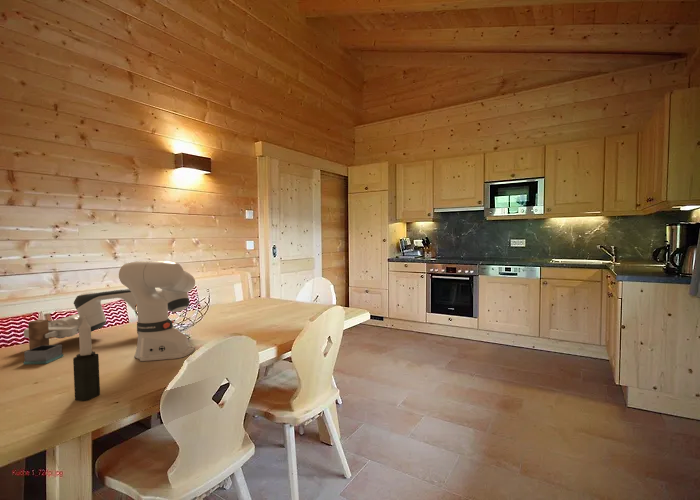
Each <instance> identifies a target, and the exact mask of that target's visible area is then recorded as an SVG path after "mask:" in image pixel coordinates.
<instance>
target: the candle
mask: <svg viewBox="0 0 700 500" xmlns="http://www.w3.org/2000/svg"><path fill="white" fill-rule="evenodd" d="M78 339H79V353H77V354H76V356H75V357H73V358H72V360H73V361H72V363H73V365H72V366H73V384H74V385H73V387H74V400H75V401H77V402H78V401H79V402H80V401H81V402H87V401H90V400H92V399H94V398H96V397H98V396H100V395H101V386H100V385H101V384H100V363H99V362H100V361H99V360H100V359H99V358H100V357H99V356H100V355H99V354H98V353H96V352H95V351H92V350H93V349H92V332H91V327H90V325H89V324H88V323H87V321H86V317H85V316H84V317H83V321H82V324H81V326H80V327H79V333H78Z"/></svg>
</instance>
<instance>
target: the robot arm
mask: <svg viewBox="0 0 700 500" xmlns="http://www.w3.org/2000/svg"><path fill="white" fill-rule="evenodd" d="M118 280H119V282H120V283H121V284H122V285H123V286H125V287H126V288H127V289H117V290H108V291H107V290H106V291H101V292H85V293H81V294H79V295H77V296H76V297H75V299H74V301H73V305H74V307H75V309H76V311H77V312H76V314H72V315H70V316H65V317H62V318H58V319H55V320H48V329H49V333H45V334H43V338H49V339H50V338H57V339H65V338H68V337H73V336H75V335H77V334H79V327H80V326H81V324H82V321H83V317H84V316H85V317H86V321H87V323H88V324H89V325H90V327H91V333H92V332H95V331H96V330H99V329H101V328H103V327H104V326H105V325H106V324H107V317H106V315H105V312H104V310H103V307H102V303H101V302H102V301H105V300H112V299H113V300H114V299H121V300H124V302H126V304H128V306H129V307H130V308H131V309H132V310H134V312H136V307H135V305H136V304H137V312H138V313H137V312H136V313H137V322H136V332H137V344H136V349H135V350H136V351H135V354H134V358H136V359H138V360H139V361H140V362H149V361H159V360H172V359H175V360H176V359H181V358H182V359H183V358H184V357H186V356H188V355H190V354H191V353H193V352H194V350H195V346H194V345H190V344H189V340H188V336H187V335H186V334H184V333H183V332H181V331H180V330H178V329H176V328H175V327H174V326H173V325H174V323H175V320H174V319H173V320H171V319H170V318H169V312H171V313H178V312H182V311H184V310H186V309H187V308H188V307H189V306H190V298H189V293H188V292H190V291H192V290H193V289H194V287H195V285H196V279H195V278H194V276H193V275H192V274H191V273H190V272H187V270H184V269H183V267H182V265H181V264H180V263H178V262H173V261H168V260H165V261H164V260H163V261H162V260H160V261H158V260H156V261H155V260H154V261H153V260H148V261H147V260H145V261H143V260H141V261H140V260H139V261H131V262H128V263H127V262H126V263H124V264H123V265H122V266H121V267H120V269H119V271H118ZM23 336H24V338H25V339H26V338H27V339H29V328H28V327H27V328H24V331H23Z"/></svg>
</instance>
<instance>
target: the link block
mask: <svg viewBox="0 0 700 500" xmlns="http://www.w3.org/2000/svg"><path fill="white" fill-rule="evenodd" d="M48 321H49V319H36V320H32V321H28V323H27V326H28V327H27V328H29V338H28V342H29V343H28V346H29V349H28V350H30V349H33V348H35V347H38V346H41V345H50V337H49V338H43V334H45V333H49V329H48Z"/></svg>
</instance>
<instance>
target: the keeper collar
mask: <svg viewBox="0 0 700 500" xmlns="http://www.w3.org/2000/svg"><path fill="white" fill-rule="evenodd" d="M23 354H24V355H23V357H24V361H23V365H47V364H50V363H52V362H54V361H56V360H59V359H60V358H63V357H64V354H63V344H49V345H41V346H38V347H35V348H33V349H28V350H25V351H24V352H23Z"/></svg>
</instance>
